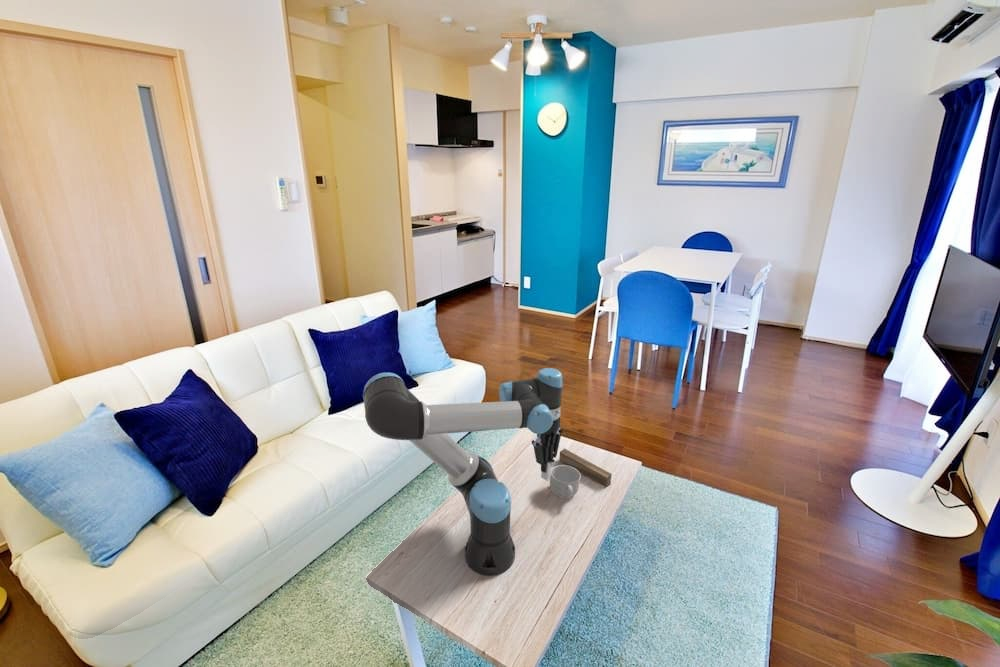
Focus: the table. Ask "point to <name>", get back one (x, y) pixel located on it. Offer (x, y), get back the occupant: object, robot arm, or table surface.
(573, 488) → the teacup
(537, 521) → the table surface
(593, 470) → the board
